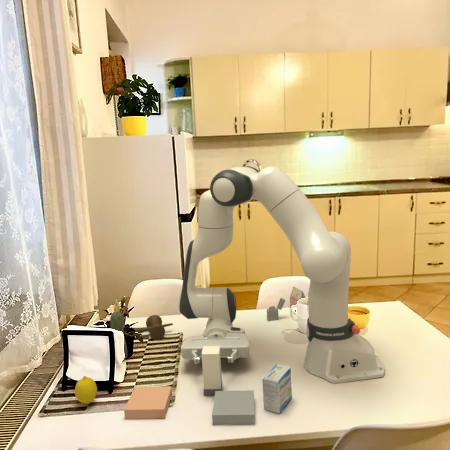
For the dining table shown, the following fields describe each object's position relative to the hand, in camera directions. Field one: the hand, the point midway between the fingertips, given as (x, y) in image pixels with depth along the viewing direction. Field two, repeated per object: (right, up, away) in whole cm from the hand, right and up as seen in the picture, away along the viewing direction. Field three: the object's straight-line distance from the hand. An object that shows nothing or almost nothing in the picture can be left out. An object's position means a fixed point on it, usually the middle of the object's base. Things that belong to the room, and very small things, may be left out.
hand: (213, 361), depth 115 cm
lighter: (+23, +2, +42) cm, 48 cm away
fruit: (-33, -10, -6) cm, 35 cm away
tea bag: (+32, +3, +46) cm, 56 cm away
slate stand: (+6, -8, -12) cm, 16 cm away
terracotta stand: (-16, -9, -8) cm, 20 cm away
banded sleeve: (0, -7, -3) cm, 8 cm away
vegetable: (-30, -5, +17) cm, 35 cm away
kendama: (-25, -2, +33) cm, 42 cm away
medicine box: (+17, -8, -10) cm, 21 cm away
